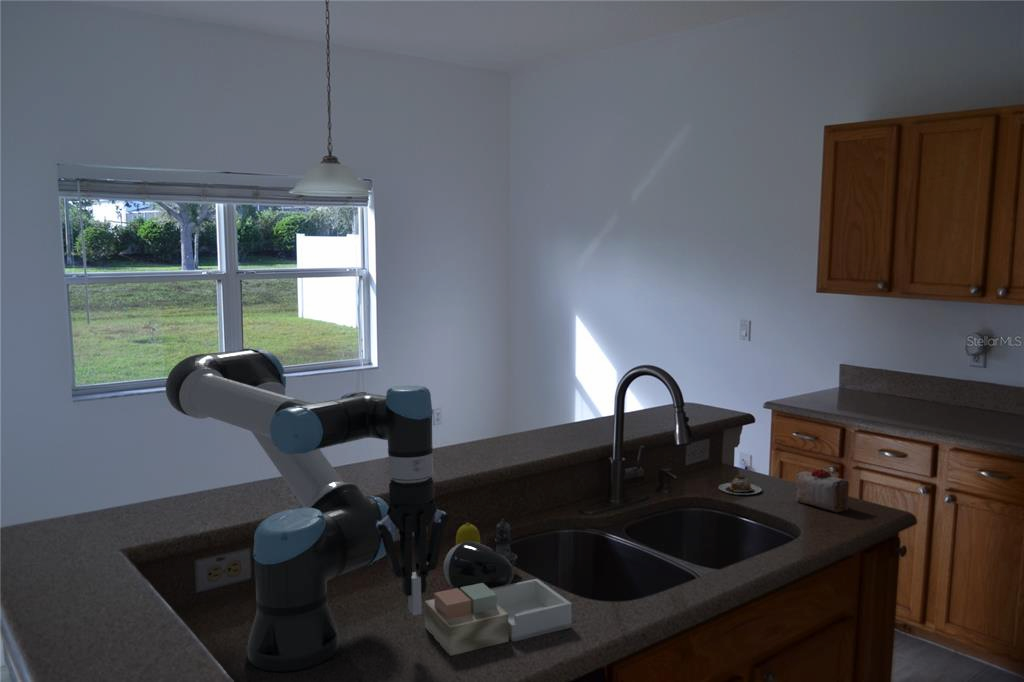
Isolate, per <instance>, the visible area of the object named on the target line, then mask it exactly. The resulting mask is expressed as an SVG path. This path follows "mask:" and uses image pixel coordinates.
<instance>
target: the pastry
mask: <svg viewBox="0 0 1024 682" xmlns="http://www.w3.org/2000/svg"><path fill="white" fill-rule="evenodd" d="M728 487H729V489H730V490H731V491H732V490H733V491H732V492H731V491H728V490H727V489H728ZM726 488H727V489H726ZM751 488H752V489H751ZM753 489H754V490H753ZM718 490H720V491H721V492H723V493H725V494H728V495H732V494H733V495H734V496H749V495H756V494H758V493H760V492H762V491H763V489H762V488H761V487H760V486H758V485H756V484H752V483H750V481H749V480H748V479H747V478H746V475H740V474H739V475H736V476H735V478H733V480H732V481H731V482H727V483H723V484H719V485H718ZM752 490H753V492H752ZM749 491H750V492H749ZM754 491H755V492H754ZM741 492H744V493H741Z"/></svg>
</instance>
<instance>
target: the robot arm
mask: <svg viewBox="0 0 1024 682" xmlns="http://www.w3.org/2000/svg"><path fill="white" fill-rule="evenodd" d="M284 369H285V368H284V367H283V365H282V363H281V361H280V359H278V357H277V356H275V354H274V353H272V352H270V351H269V350H265V349H262V348H256V349H255V348H243V349H239V350H233V351H232V350H231V351H222V352H211V353H209V352H208V353H200V354H199V353H198V354H195V355H191V356H188V357H186V358H184V359H181V360H180V361H179V362H177V364H176V365H174V367H173V368H171V371H170V372H169V373H168V375H167V379H166V382H165V394H166V398H167V400H168V402H169V403H170V405H171V406H172V407H173V409H175V410H176V411H178V412H179V413H181V414H182V415H186V416H189V417H190V418H193V419H207V418H211V419H214V420H218V421H221V422H223V423H226V424H230V425H232V426H234V427H238V428H241V429H243V430H247V431H250V432H251V433H252V435H253V436H254V437H255V439H256V441H257V442H258V443H259V445H260V446H261V447H262V449H263V450H264V452H265V453H266V456H267V457H268V458H269V459H270V461H271V462H272V464H273V465H274V467H275V468H276V470H277V472H279V474H280V475H281V476H282V478H283V480H284V481H285V483H286V484H287V486H288V487H289V488H290V489H291V491H292V492H293V494H294V495H295V497H296V498H297V500H298V501H299V502H300V504H301V506H302V507H296V508H294V509H286V510H282V511H279V512H276V513H274V514H272V515H270V516H268V517H266V518H265V519H264V520H262V521H261V522H260V523H259V524H258V525H257V527H256V528H255V532H254V536H253V537H254V538H253V550H252V555H253V558H254V573H255V574H254V577H255V599H256V613H255V617H254V620H253V623H252V626H251V630H250V633H249V636H248V637H249V638H248V642H247V648H246V649H247V658H248V659H247V660H248V661H249V663H250V664H251V665H252V666H254V667H256V668H258V669H259V670H263V671H269V672H270V671H271V672H293V671H299V670H305V669H308V668H311V667H315V666H317V665H319V664H321V663H323V662H325V661H327V660H329V659H330V658H332V657H333V656H334V655H335V654H336V653H337V651H338V650H339V647H340V637H339V636H340V635H339V630H338V626H337V623H336V622H335V619H334V616H333V614H332V611H331V608H330V606H329V604H328V603H329V602H328V591H327V590H328V587H327V585H328V584H327V582H328V581H329V580H332V579H334V578H336V577H339V576H342V575H344V574H346V573H350V572H352V571H355V570H357V569H359V568H362V567H364V566H370V565H372V564H373V563H374V562H376V561H379V560H380V559H382V558H383V557H385V556H386V557H387V561H388V565H389V568H390V571H391V573H393V574H394V576H395V577H397V578H399V577H401V580H402V581H401V582H402V584H401V585H402V586H401V587H402V588H401V589H402V592H403V594H404V595H405V597H407V602H408V603H407V608H408V611H409V612H410V614H411V615H412V616H413V617H414V616H419V615H422V614H423V613H422V611H423V609H422V607H423V606H422V605H423V604H422V594H424V593H426V591H427V577H428V576H429V572H430V571H434V570H436V568H437V566H438V560H439V555H440V551H441V547H442V540H443V535H444V530H445V527H446V525H447V524H448V522H449V520H450V515H449V514H448V513H447V512H446V511H444V510H440V509H438V506H437V504H436V503H435V485H434V478H433V477H432V476H433V475H434V454H433V453H434V452H433V414H434V412H433V406H432V397H431V396H432V395H431V391H430V390H429V388H427V387H426V386H423V385H411V384H408V385H396V386H393V387H389V388H388V389H387V391H386V394H385V395H381V394H372V393H367V392H363V391H359V392H347V393H345V394H343V395H342V396H341V397H340V398H337V399H332V400H325V401H320V402H308V401H304V400H301V399H297V398H294V397H291V396H287V395H286V387H287V386H286V385H287V378H286V375H284V373H285V370H284ZM369 438H370V439H372V438H373V439H378V440H385V441H387V454H388V461H387V463H388V477H389V478H390V479H389V481H388V486H389V487H388V489H389V490H388V492H389V493H388V495H389V498H388V499H389V505H388V503H387V502H386V501H385V500H384V499H383V498H381V497H379V496H374V495H368V496H365V495H364V494H363V492H362V491H361V489H360V488H359V487H358V486H357V484H356V483H353V482H344V480H343V479H342V478H341V476H340V475H339V474H338V472H337V471H336V470H335V468H334V467H333V466H332V464H331V463H330V461H329V460H328V459H327V458H326V455H324V453H323V452H322V450H321V449H325V448H328V447H329V448H330V447H333V446H337V445H342V444H346V443H350V442H354V441H359V440H363V439H369ZM431 521H432V522H433V523H432V524H431V525H432V526H431V532H430V536H429V539H428V540H429V541H428V546H427V531H428V530H427V527H428V526H429V525H430V522H431ZM395 527H396V528H397V530H398V534H399V538H400V540H399V541H400V542H399V544H400V546H399V548H400V560H399V557H398V553H397V550H396V546H395V543H394V540H395ZM413 534H414V535H413ZM413 536H414V567H415V571H413V554H412V553H413V549H412V542H413V541H412V539H413Z"/></svg>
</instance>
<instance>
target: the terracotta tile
mask: <svg viewBox="0 0 1024 682" xmlns="http://www.w3.org/2000/svg"><path fill="white" fill-rule="evenodd" d="M433 597H434V598H433V599H434V606H435V607H436V608H437V609H438V611H439V612H440V613H441V614H442V615H443V616H444V617H445V618H446V619H452V618H456V617H460V616H465V615H469V614H471V600H470V599H469V598H468V597H467V596H466V595H465V594H464V593H462V592H461V591H460V590H459V589H458V588H455V589H454V588H452V589H446V590H443V591H442V590H441V591H436V592H434V593H433Z"/></svg>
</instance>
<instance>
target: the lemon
mask: <svg viewBox="0 0 1024 682" xmlns="http://www.w3.org/2000/svg"><path fill="white" fill-rule="evenodd" d="M467 541H472V542H476V543H479V544H481V535H480V531H479V529H478V527H476V526H475V525H474V524H471V523H470V522H466V523H465V524H463V525H461V526H460V527H459V528H458V530H457V532H456V535H455V546H456V545H458V544H461V543H464V542H467Z"/></svg>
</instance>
